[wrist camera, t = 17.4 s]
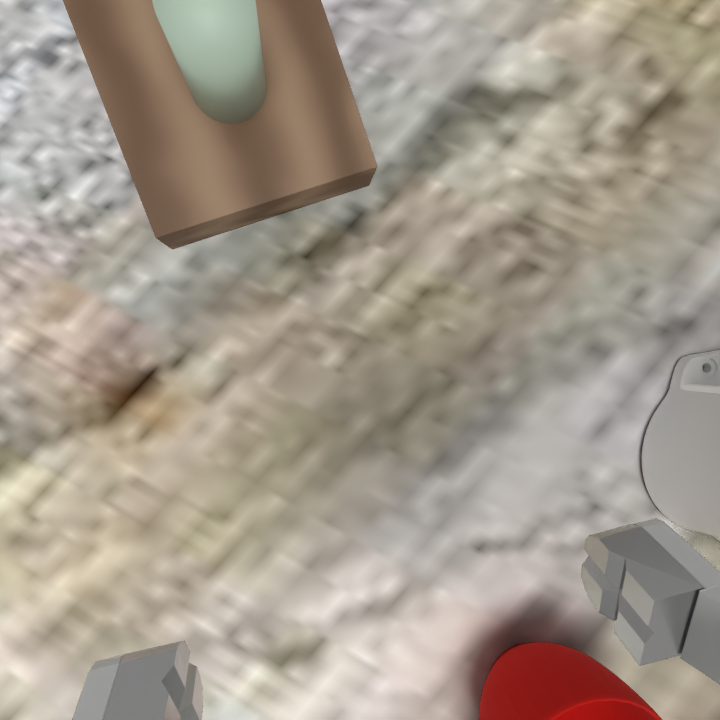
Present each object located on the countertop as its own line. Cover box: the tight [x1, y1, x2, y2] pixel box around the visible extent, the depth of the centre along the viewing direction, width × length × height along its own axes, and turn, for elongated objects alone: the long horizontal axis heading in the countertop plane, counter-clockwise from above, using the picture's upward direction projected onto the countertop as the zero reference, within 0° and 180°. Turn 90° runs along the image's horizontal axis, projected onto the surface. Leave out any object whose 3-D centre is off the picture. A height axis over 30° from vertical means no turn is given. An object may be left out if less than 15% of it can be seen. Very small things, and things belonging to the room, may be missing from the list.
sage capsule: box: [152, 0, 266, 124], centre depth 27 cm, size 5×5×8 cm
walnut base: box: [63, 0, 377, 249], centre depth 33 cm, size 16×16×4 cm
